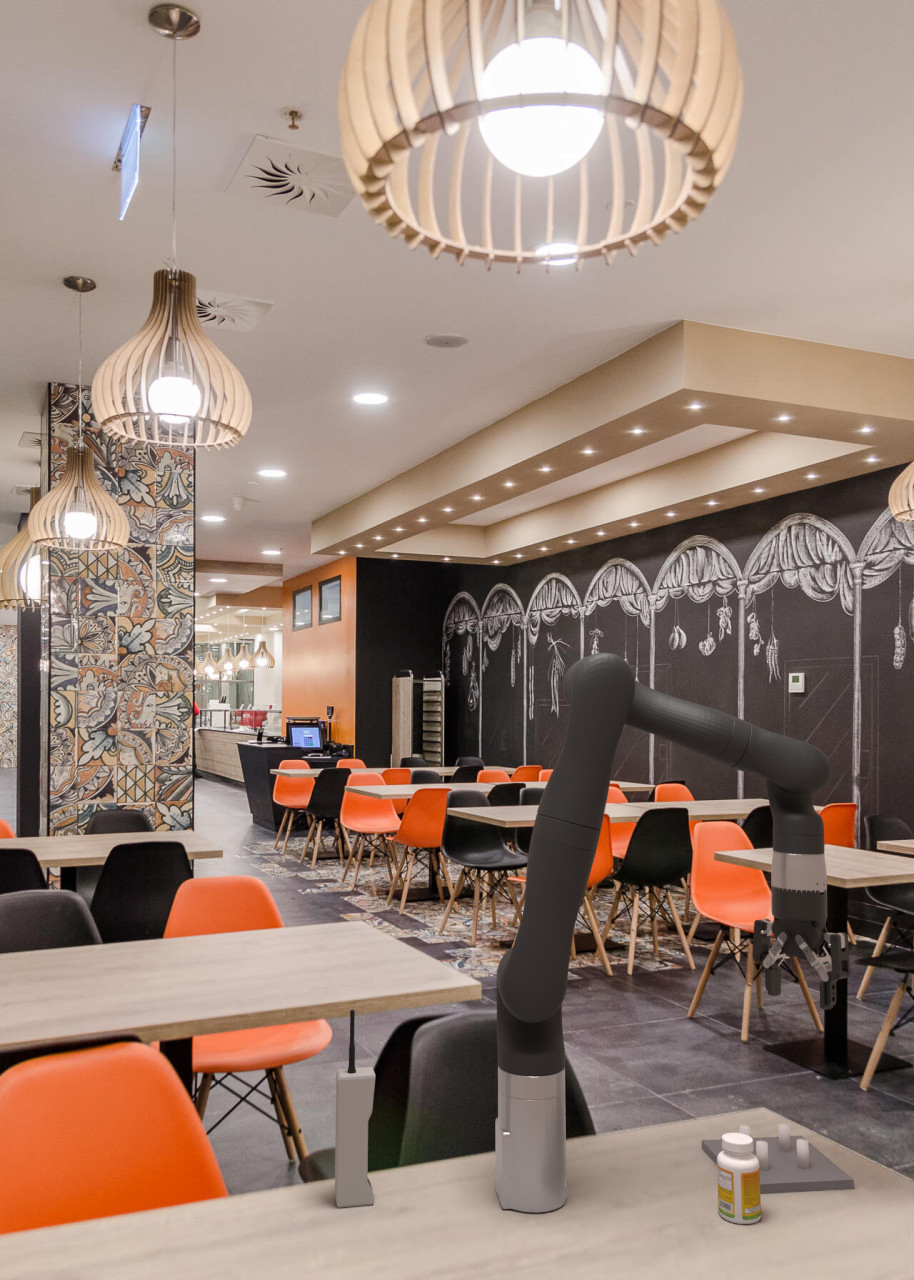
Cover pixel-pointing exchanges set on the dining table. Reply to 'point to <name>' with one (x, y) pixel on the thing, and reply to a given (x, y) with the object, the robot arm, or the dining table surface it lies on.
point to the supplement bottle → (738, 1180)
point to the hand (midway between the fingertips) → (800, 1001)
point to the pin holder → (789, 1163)
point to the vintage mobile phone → (353, 1130)
